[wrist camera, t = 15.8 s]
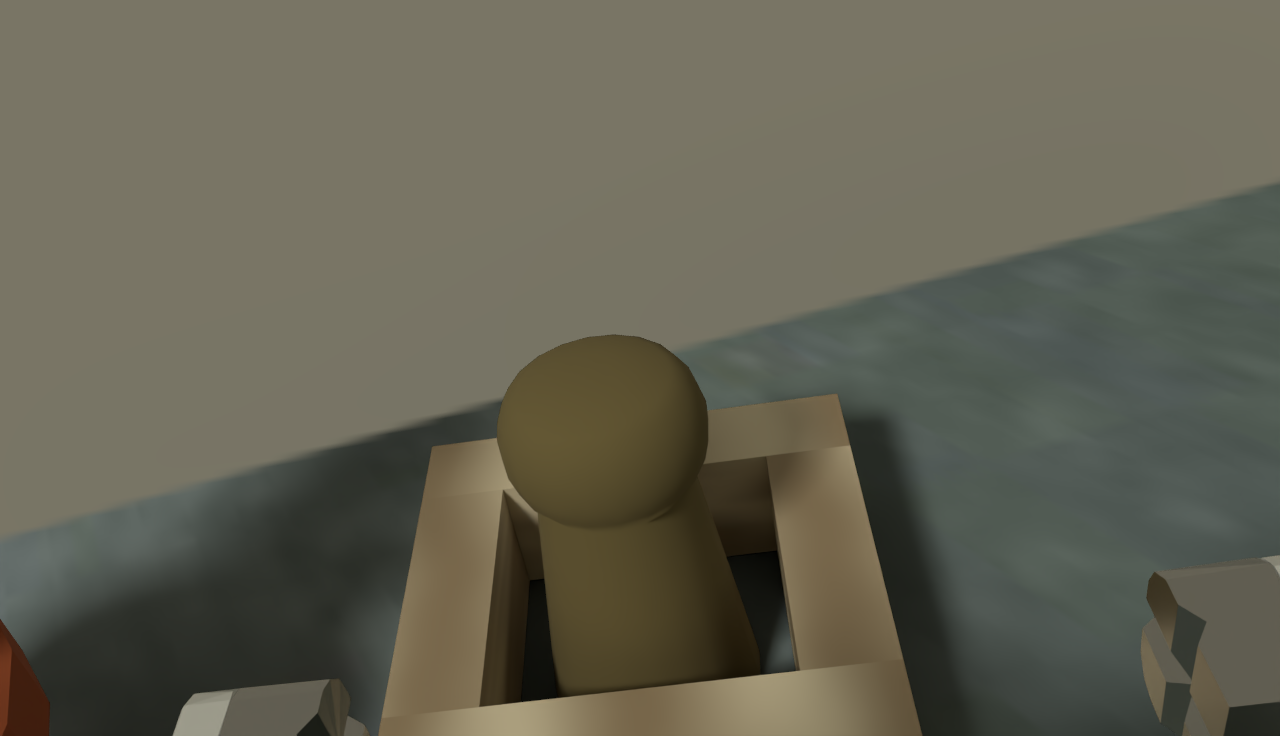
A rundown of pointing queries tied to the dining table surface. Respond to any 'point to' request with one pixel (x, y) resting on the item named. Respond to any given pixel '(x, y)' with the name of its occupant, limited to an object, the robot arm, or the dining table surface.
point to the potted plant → (20, 692)
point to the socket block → (746, 523)
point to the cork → (624, 518)
